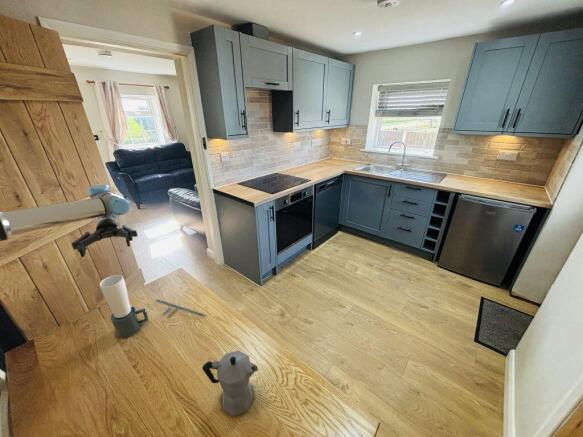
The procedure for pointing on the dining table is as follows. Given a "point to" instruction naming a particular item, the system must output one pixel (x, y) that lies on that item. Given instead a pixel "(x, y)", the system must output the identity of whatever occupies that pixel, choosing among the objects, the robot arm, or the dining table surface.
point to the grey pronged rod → (177, 306)
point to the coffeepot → (233, 380)
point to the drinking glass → (116, 295)
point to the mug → (128, 323)
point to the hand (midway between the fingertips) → (105, 248)
